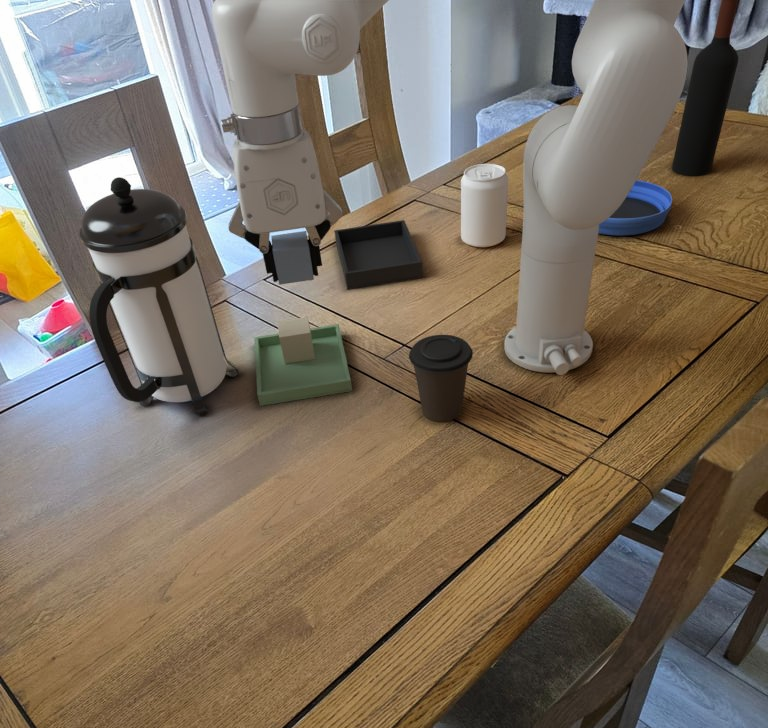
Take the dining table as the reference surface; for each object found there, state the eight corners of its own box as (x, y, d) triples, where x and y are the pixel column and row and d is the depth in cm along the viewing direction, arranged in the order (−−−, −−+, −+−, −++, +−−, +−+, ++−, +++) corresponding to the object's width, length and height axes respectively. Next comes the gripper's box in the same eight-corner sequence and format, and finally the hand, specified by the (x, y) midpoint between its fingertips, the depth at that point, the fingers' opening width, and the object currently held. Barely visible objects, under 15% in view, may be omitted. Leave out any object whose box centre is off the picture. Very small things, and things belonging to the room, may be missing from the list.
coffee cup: (477, 394, 96) (478, 331, 89) (466, 432, 90) (466, 367, 83) (420, 388, 98) (416, 326, 91) (405, 425, 92) (401, 361, 85)
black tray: (422, 277, 120) (422, 261, 117) (347, 289, 119) (345, 273, 117) (405, 235, 131) (404, 219, 129) (336, 245, 131) (334, 230, 129)
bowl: (680, 235, 123) (685, 215, 120) (577, 242, 124) (579, 222, 121) (655, 193, 135) (658, 174, 133) (561, 200, 136) (563, 181, 134)
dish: (352, 391, 99) (350, 380, 97) (260, 406, 98) (257, 395, 97) (340, 334, 109) (338, 323, 108) (256, 347, 108) (254, 337, 107)
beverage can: (504, 229, 130) (508, 161, 121) (505, 249, 124) (509, 179, 116) (461, 230, 131) (461, 163, 122) (460, 250, 125) (460, 181, 117)
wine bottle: (671, 175, 140) (709, -7, 119) (672, 161, 145) (709, -17, 124) (711, 176, 138) (758, -9, 117) (710, 162, 143) (755, -18, 122)
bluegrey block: (314, 279, 91) (308, 245, 88) (279, 284, 91) (272, 251, 87) (311, 263, 94) (306, 230, 91) (277, 268, 94) (271, 235, 91)
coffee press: (126, 377, 106) (40, 172, 84) (229, 350, 109) (171, 145, 87) (140, 445, 94) (44, 227, 72) (254, 412, 97) (195, 193, 75)
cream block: (315, 359, 104) (310, 332, 101) (284, 364, 104) (279, 337, 101) (312, 342, 107) (307, 316, 104) (283, 347, 107) (277, 321, 104)
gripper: (193, 146, 76) (232, 297, 89) (345, 125, 77) (361, 278, 90) (195, 124, 82) (232, 270, 95) (338, 105, 82) (355, 252, 95)
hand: (295, 272), depth 92 cm, fingers closed on bluegrey block, 4 cm apart
